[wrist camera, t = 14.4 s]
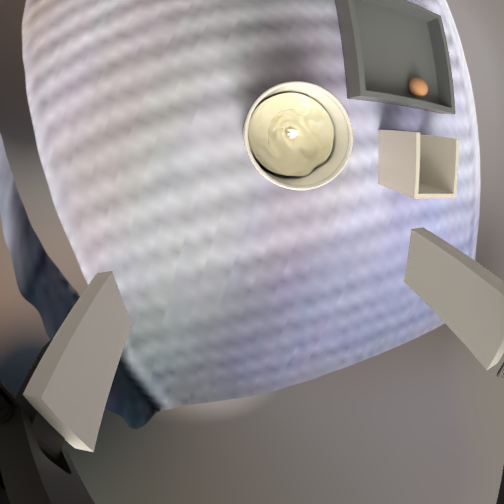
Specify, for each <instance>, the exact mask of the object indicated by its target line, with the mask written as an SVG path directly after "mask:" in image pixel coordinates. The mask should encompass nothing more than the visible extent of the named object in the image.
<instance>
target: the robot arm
mask: <svg viewBox="0 0 504 504" xmlns="http://www.w3.org/2000/svg"><path fill="white" fill-rule="evenodd" d="M404 282H405V283H406V284H407V285H408V286H409V287H410V288H411V289H412V290H413V291H414V292H415V293H416V294H417V295H418V296H419V297H420V298H421V299H422V300H423V301H424V302H425V303H426V304H427V305H428V306H429V307H430V308H431V309H432V310H433V311H434V312H435V313H436V314H437V315H438V316H439V317H440V318H441V319H442V320H443V321H444V322H445V323H446V324H447V325H448V327H450V329H451V330H452V331H453V332H454V333H455V334H456V335H457V336H458V337H459V339H460V340H461V341H462V342H463V343H464V344H465V345H466V346H467V347H468V348H469V350H470V351H471V352H472V353H473V354H474V356H475V357H476V358H477V359H478V360H479V361H480V363H481V364H482V365H483V366H484V367H485V369H486V370H488V369H489V368H491V367H492V366H494V365H495V364H497V363H498V362H499V360H500V358H501V357H502V355H503V353H504V282H503V281H502V280H500V279H499V278H498V277H497V276H495V275H494V274H493V273H491V272H490V271H488V270H487V269H486V268H484V267H483V266H481V265H480V264H479V263H477V262H476V261H474V260H473V259H471V258H470V257H469V256H467V255H466V254H464V253H463V252H461V251H460V250H458V249H457V248H455V247H454V246H452V245H450V244H449V243H447V242H446V241H444V240H443V239H441V238H439V237H438V236H436V235H435V234H433V233H431V232H430V231H428V230H426V229H425V228H416V229H411V236H410V245H409V252H408V259H407V266H406V272H405V278H404ZM131 326H132V322H131V320H130V318H129V315H128V313H127V310H126V308H125V305H124V302H123V300H122V297H121V294H120V292H119V289H118V286H117V283H116V281H115V278H114V275H113V272H112V271H110V272H103V273H97V274H96V276H95V277H94V278H93V280H92V281H91V282H90V284H89V285H88V287H87V288H86V289H85V291H84V292H83V294H82V295H81V297H80V298H79V299H78V301H77V302H76V304H75V305H74V307H73V308H72V310H71V311H70V313H69V314H68V316H67V317H66V319H65V321H64V322H63V324H62V325H61V327H60V328H59V330H58V332H57V333H56V335H55V337H54V338H53V339H51V340H50V341H49V342H48V343H47V344H46V345H45V346H44V347H43V348H42V350H41V352H40V353H39V355H38V357H37V360H36V361H35V362H34V364H33V365H32V369H30V371H29V373H28V374H27V376H26V378H25V380H24V382H23V384H22V386H21V388H20V390H19V392H18V394H17V396H16V398H15V397H14V396H13V394H12V393H11V392H10V391H9V389H8V388H7V387H6V386H5V384H4V383H3V382H2V381H1V380H0V504H95V503H94V501H93V500H92V498H91V496H90V495H89V493H88V491H87V489H86V488H85V486H84V484H83V482H82V480H81V478H80V476H79V475H78V473H77V471H76V469H75V467H74V465H73V462H72V460H71V458H70V456H69V454H68V452H67V451H66V449H65V448H64V447H63V443H64V439H65V440H66V441H67V442H68V443H70V444H71V445H72V446H73V447H74V448H76V449H81V450H86V451H91V452H94V448H95V443H96V439H97V435H98V431H99V427H100V423H101V420H102V416H103V412H104V409H105V405H106V402H107V398H108V395H109V391H110V388H111V385H112V381H113V378H114V375H115V372H116V369H117V366H118V363H119V360H120V357H121V354H122V351H123V348H124V345H125V342H126V340H127V337H128V334H129V331H130V328H131ZM503 370H504V363H503V365H502V366H501V368H500V370H499V371H498V373H497V377H499V376H500V375H501V373H502V372H503ZM502 378H504V374H503V376H502ZM503 468H504V467H503ZM496 504H504V469H503V475H502V480H501V485H500V490H499V495H498V499H497V503H496Z"/></svg>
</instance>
